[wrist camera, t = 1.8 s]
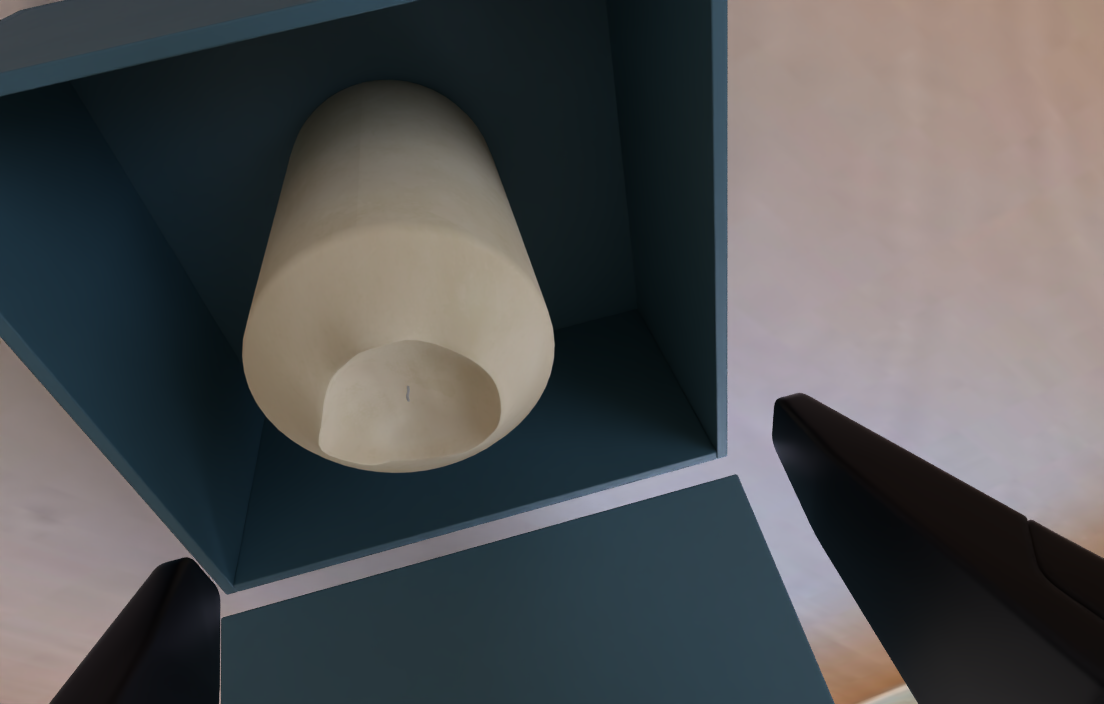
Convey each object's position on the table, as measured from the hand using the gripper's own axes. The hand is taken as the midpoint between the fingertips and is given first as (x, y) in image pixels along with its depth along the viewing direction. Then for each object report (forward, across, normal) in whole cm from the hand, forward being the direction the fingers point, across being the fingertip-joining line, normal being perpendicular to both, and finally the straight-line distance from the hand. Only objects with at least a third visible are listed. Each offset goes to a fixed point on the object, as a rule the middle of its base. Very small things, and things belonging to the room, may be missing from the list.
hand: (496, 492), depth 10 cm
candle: (+12, +1, 0) cm, 12 cm away
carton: (+12, +1, 0) cm, 12 cm away
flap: (+1, +1, +7) cm, 7 cm away
